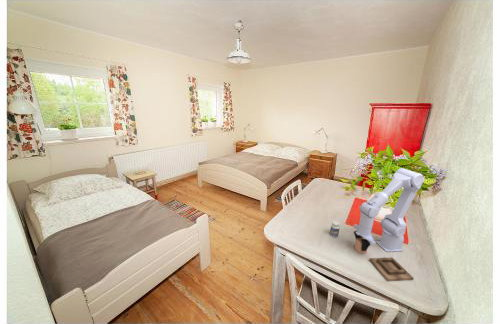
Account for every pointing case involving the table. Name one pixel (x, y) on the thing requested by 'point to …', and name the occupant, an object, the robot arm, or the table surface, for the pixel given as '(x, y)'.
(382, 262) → the display stand
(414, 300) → the table surface
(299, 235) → the table surface
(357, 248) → the terracotta block
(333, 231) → the pill bottle
